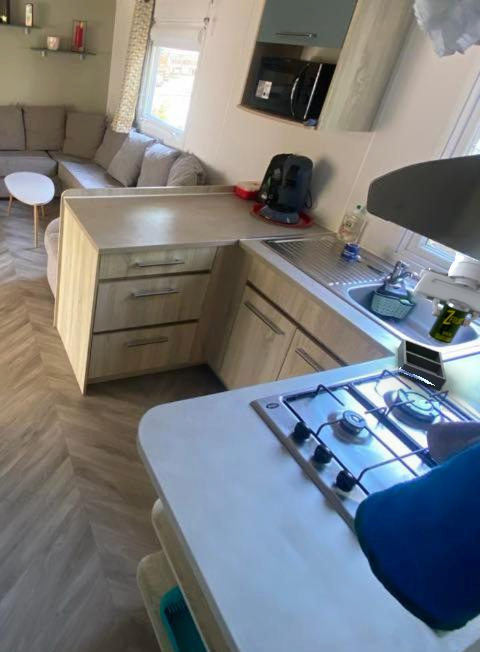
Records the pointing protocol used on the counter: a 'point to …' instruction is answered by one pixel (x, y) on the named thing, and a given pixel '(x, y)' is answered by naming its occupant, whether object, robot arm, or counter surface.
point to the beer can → (449, 321)
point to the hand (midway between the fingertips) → (450, 320)
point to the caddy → (421, 364)
